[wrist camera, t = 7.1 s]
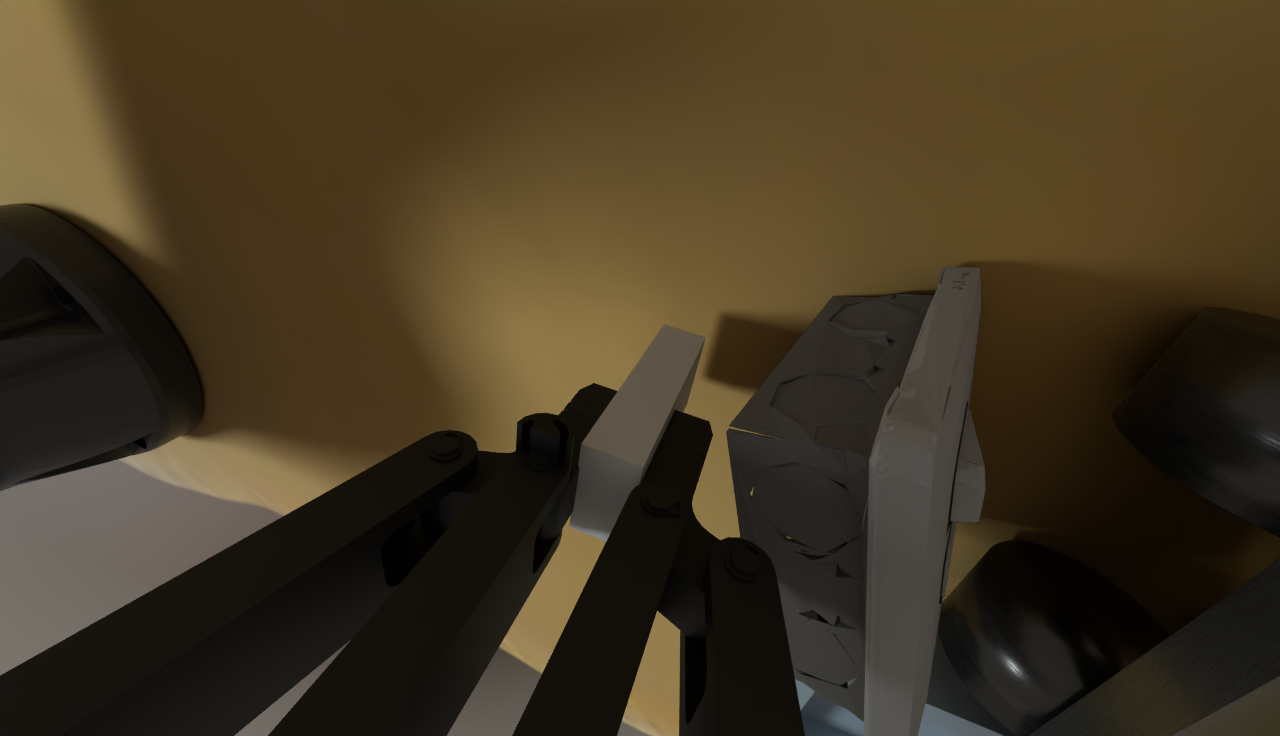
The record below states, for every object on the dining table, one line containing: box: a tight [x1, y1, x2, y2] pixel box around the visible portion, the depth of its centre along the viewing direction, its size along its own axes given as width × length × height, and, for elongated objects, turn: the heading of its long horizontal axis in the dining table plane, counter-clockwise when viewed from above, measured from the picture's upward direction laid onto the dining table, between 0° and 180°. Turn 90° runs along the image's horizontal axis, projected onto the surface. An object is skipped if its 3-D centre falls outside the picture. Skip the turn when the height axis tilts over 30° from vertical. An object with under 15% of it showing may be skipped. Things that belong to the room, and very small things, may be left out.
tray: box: [795, 631, 1016, 736], centre depth 20 cm, size 13×10×4 cm
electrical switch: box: [726, 267, 986, 736], centre depth 13 cm, size 9×5×9 cm, turn 11°
